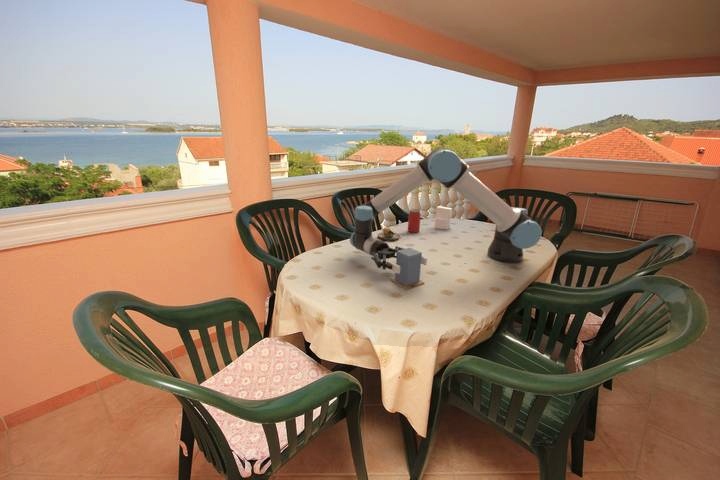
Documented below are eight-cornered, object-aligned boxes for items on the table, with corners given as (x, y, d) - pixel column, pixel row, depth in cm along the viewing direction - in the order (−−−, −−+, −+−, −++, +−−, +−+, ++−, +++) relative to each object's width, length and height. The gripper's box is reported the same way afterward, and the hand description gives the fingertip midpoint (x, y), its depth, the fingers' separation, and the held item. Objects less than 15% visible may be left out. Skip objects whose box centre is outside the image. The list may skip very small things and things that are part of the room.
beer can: (419, 233, 178) (420, 212, 174) (407, 232, 179) (408, 211, 175) (419, 230, 184) (421, 209, 180) (407, 229, 185) (409, 209, 181)
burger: (397, 243, 162) (397, 229, 160) (374, 240, 166) (375, 226, 163) (401, 236, 173) (402, 223, 171) (380, 233, 177) (381, 220, 174)
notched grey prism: (407, 275, 124) (409, 247, 120) (419, 281, 119) (421, 252, 116) (395, 279, 121) (396, 250, 117) (406, 286, 116) (409, 256, 112)
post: (407, 275, 126) (408, 256, 124) (424, 283, 119) (426, 264, 117) (390, 280, 121) (391, 261, 119) (406, 289, 114) (408, 269, 112)
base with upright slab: (431, 227, 190) (433, 207, 186) (438, 224, 196) (440, 205, 192) (445, 230, 184) (448, 210, 180) (452, 227, 191) (454, 207, 187)
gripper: (398, 251, 140) (435, 267, 124) (351, 263, 126) (386, 283, 110) (399, 234, 138) (437, 249, 121) (352, 245, 124) (387, 263, 108)
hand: (413, 265), depth 116 cm, fingers open, 13 cm apart
